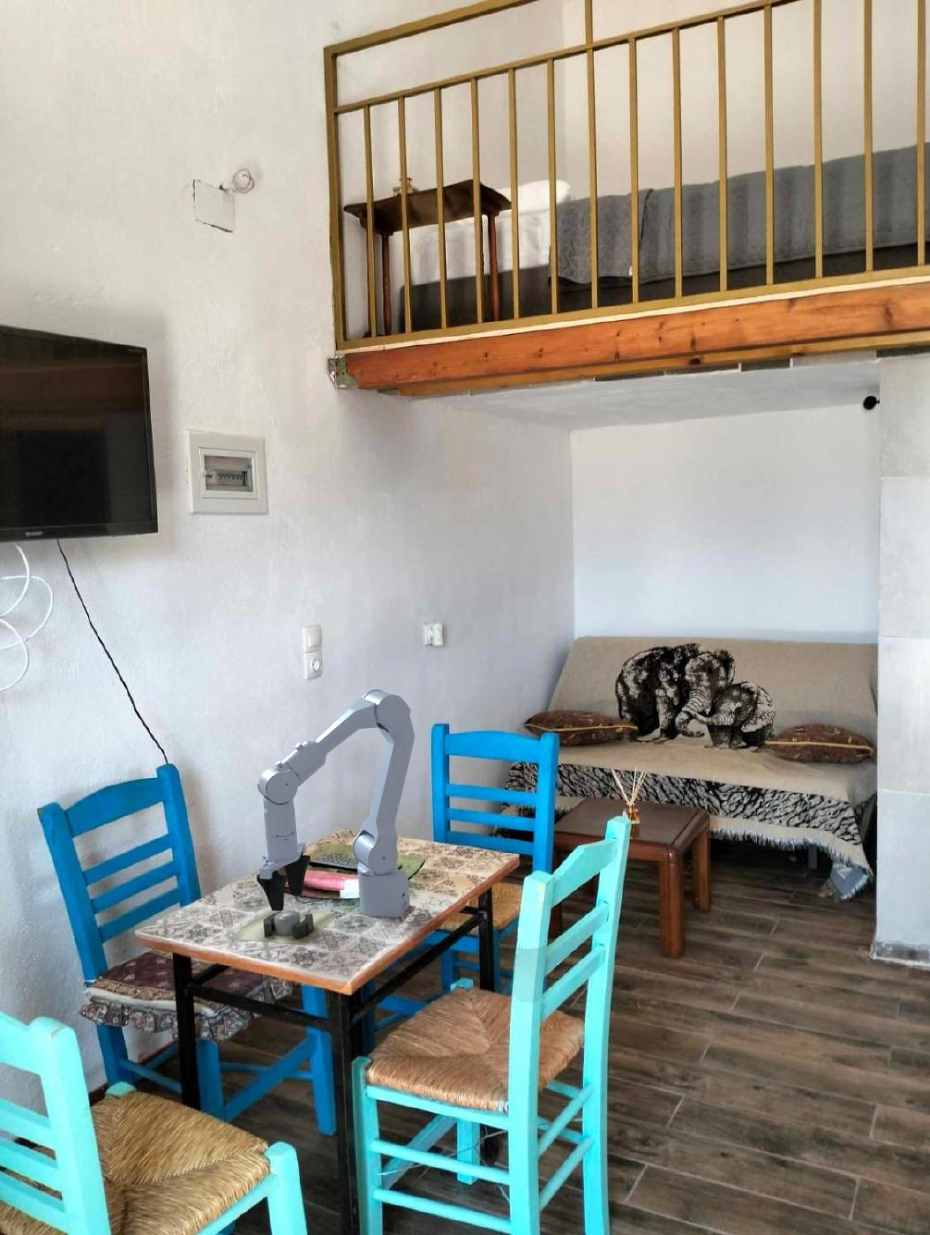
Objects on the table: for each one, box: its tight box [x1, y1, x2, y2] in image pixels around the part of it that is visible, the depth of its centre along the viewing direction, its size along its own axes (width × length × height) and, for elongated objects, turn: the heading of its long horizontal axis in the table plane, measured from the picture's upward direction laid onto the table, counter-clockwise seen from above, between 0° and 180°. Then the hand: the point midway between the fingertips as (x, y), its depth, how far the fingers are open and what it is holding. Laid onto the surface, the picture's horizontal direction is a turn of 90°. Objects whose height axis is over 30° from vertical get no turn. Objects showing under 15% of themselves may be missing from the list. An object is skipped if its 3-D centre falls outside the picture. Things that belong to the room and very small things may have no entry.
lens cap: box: [274, 910, 300, 937], centre depth 188 cm, size 5×5×3 cm
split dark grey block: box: [263, 912, 314, 940], centre depth 188 cm, size 9×6×2 cm
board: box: [228, 909, 339, 946], centre depth 191 cm, size 16×14×1 cm
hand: (287, 902), depth 188 cm, fingers open, 7 cm apart
